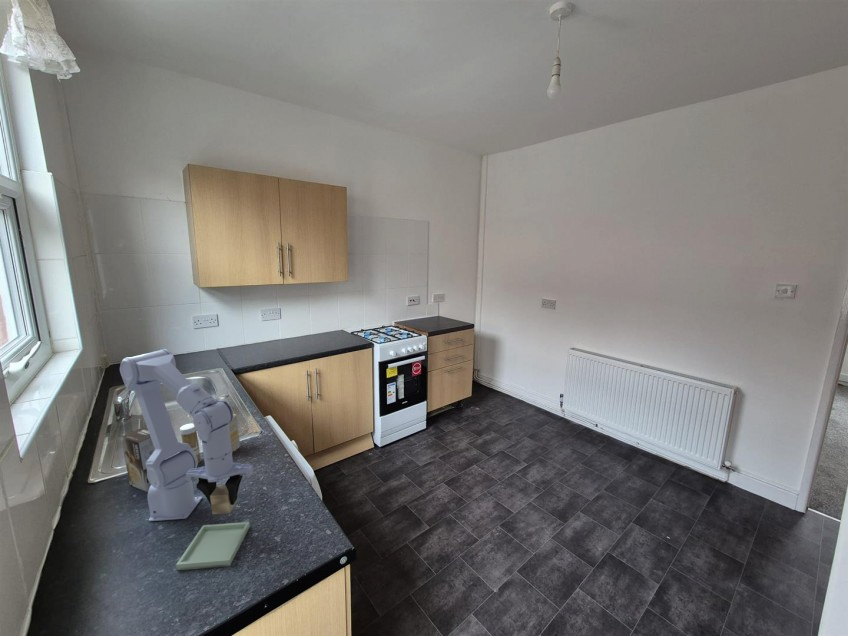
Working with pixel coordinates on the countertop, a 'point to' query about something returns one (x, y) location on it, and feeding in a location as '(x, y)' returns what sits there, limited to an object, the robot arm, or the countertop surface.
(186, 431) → the sprinkles bottle
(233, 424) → the supplement box
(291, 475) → the countertop surface
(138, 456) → the coffee box
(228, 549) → the tray
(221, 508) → the beech block
